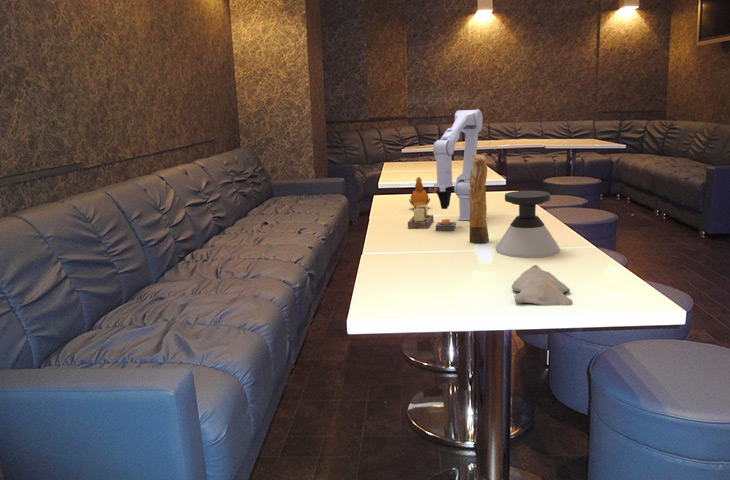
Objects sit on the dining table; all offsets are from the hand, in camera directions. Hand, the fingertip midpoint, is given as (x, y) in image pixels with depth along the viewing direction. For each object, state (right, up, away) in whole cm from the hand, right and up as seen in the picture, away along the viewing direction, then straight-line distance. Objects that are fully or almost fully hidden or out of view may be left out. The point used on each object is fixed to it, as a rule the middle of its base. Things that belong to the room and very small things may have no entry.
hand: (445, 207), depth 235 cm
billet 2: (-9, -6, +9) cm, 14 cm away
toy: (-5, +2, +48) cm, 48 cm away
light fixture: (+22, -16, -37) cm, 45 cm away
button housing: (+1, -8, +2) cm, 8 cm away
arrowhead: (+15, -25, -75) cm, 80 cm away
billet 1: (-7, -4, +16) cm, 18 cm away
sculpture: (+9, -13, -20) cm, 26 cm away
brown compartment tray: (-8, -6, +13) cm, 16 cm away
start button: (0, -7, +2) cm, 7 cm away
